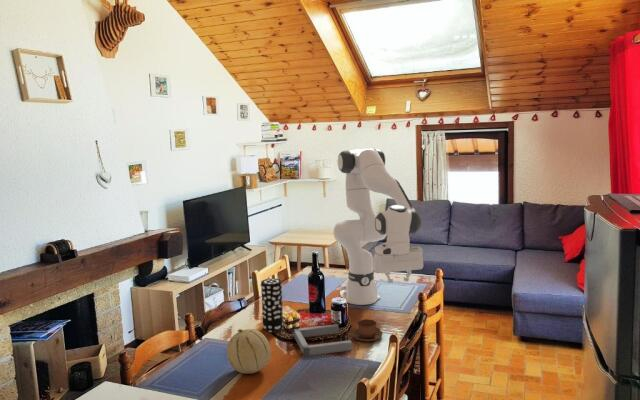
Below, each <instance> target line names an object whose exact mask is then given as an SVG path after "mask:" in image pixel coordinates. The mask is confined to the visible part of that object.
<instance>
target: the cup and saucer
mask: <svg viewBox="0 0 640 400" xmlns="http://www.w3.org/2000/svg"><path fill="white" fill-rule="evenodd" d="M382 331H383V330H381V329H380V328H379V327H378V326H377V321H375V320H374V319H369V318H368V319H366V318H365V319H361V320H359V321H358V322H357V328H355V329H354V330H353V331H351V336H352V337H353V338H354V339H356V340H357V341H361V342H375V341H378V340H380V339H381V338H382V336H383V332H382Z"/></svg>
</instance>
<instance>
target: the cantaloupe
mask: <svg viewBox="0 0 640 400" xmlns="http://www.w3.org/2000/svg"><path fill="white" fill-rule="evenodd" d="M271 353H272V351H271V345H270V343H269V340H268V339H267V338H266V336H265V335H264V334H263V333H262V332H261V331H260V330H257V329H254V328H247V329H239V328H238V330H237V333H235V334H233V335H232V336H231V338H230V339H229V342H228V343H227V347H226V357H227V361H228V363H229V365H230V366H231V367H232V369H234V370H235V371H237V372H238V373H241V374H245V375H246V374H247V375H248V374H255V373H257V372H259V371H261V370H262V369H264V367H266V365H267V364H268V363H269V361H270V358H271V355H272V354H271Z"/></svg>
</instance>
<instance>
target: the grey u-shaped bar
mask: <svg viewBox="0 0 640 400" xmlns="http://www.w3.org/2000/svg"><path fill="white" fill-rule="evenodd" d="M339 328H340V327H339V324H338V323H335V324H326V325H319V326H318V325H317V326H310V327H301V328H294V329H293V338H294V339H295V342H296V343H297V346H298V347H299V350H300V351H301V352H302V354H303V357H310V356H316V355H323V354H325V355H326V354H331V353H340V352H347V351H352V349H353V347H352V341H351V340H350V339H349V340H343V341H333V342H326V343H318V344H316V343H315V344H308V343H307V341H306V339H305V338H308V337H309V338H310V337H318V336H325V335H333V334H339V333H340V330H339Z"/></svg>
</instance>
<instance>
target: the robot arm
mask: <svg viewBox="0 0 640 400" xmlns="http://www.w3.org/2000/svg"><path fill="white" fill-rule="evenodd" d="M337 166H338V170H339V171H340V173H342V174H345V198H346V199H345V200H346V206H347V208H348V209H349V210H350V211H352V212H354V213H356V214H357V215H358V216H359V219H347V220H342V221H339V222H337V223H336V224H335V225H334V228H333V237H334V239H335V241H336V242H338V243H339V244H340V245H341V246H343V248H344V249H345V251H346V253H347V256H348V264H349V268H348V269H349V270H348V273H347V279H346V280H345V281H344V283H343V285H341V290H340V291H339V296H340V298H341V297H343V298H346V300H347V303H346V304H351V305H358V306H362V305H365V306H366V305H371V304H375V303H376V302H377V301H379V300H381V296H380V295H379V294H378V284H377V283H378V282H376V280H374V279H375V273H376V274H384V275H385V276H386V278H387V284H393V282H394V281H393V280H394V279H393V278H392V277H391V276H390V275H391V273H393V272H394V273H395V272H406V274H405V275H404V276H403V281H404V283H405V282H409V281H410V279H409V278H410V276H411V275H412V271H417V270H422V269H423V268H424V258H423V254H424V249H423V247H422V246H420V245H415V246H414V245H410V243H411V242H410V241H411V239H410V236H409V235H415V234H416V233H417V232H418V231H419V229H420V228H421V225H422V219H421V216H420V214H419V213H418V211H417V210H416V209H415V208H414V206H413V204H412V203H411V201H410V199H409V197H408V196H407V194H406V192H405V190H404V188H403V186H402V185H401V183H400V182H399V181H398V179H395V178H394V177H393V176H392V175H391V174H390V173H389V171H388V170H387V168H386V155H385V153H384V152H383V151H382V150H381V149H377V148H360V149H351V150H349V149H347V150H343V151H341V152H340V153H339V154H338V156H337ZM370 191H371V192H374V193H377V194H383V195H385V196H388V197H391V198H392V199H393V200H394V202H395V203H396V204H392V205H390V206H388V208H387V210H384V211H381V212H379V213H378V214H377V213H376V212H375V210H374V208H373V206H372V201H371V194H370V193H371V192H370ZM385 238H386V241H385V242H384V243H381V244H378V245H376V246H375V247H374V252H375V253H374V255H372V253H371V252H370V251H368V250H367V249H365V248H362V246H361V245H362V244H363V243H370V242H371V243H375V242H378V241H382V240H384V239H385Z"/></svg>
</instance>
